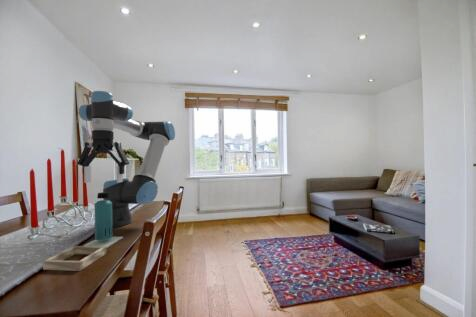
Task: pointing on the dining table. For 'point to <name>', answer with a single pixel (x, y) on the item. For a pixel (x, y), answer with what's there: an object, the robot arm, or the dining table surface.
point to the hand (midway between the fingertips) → (103, 182)
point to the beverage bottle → (103, 218)
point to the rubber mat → (104, 242)
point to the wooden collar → (59, 264)
